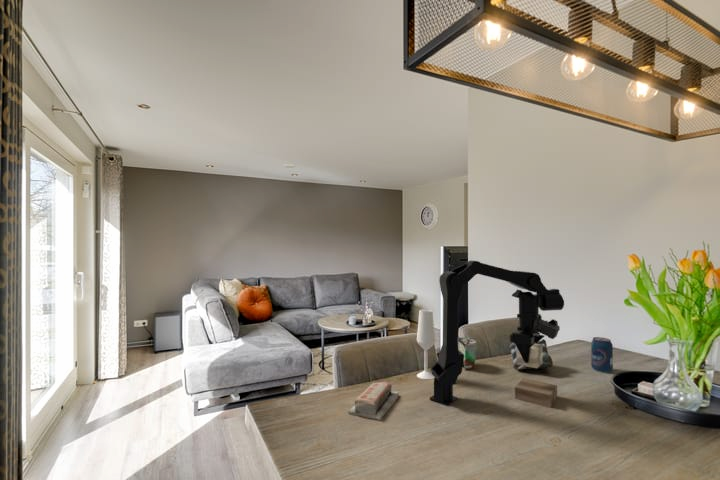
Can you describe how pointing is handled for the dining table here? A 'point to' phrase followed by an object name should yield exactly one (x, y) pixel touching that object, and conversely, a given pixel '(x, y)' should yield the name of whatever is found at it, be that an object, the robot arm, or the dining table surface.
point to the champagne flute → (425, 338)
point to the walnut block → (536, 392)
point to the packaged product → (374, 401)
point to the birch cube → (531, 357)
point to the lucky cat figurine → (545, 357)
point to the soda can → (602, 355)
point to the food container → (468, 352)
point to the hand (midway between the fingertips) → (529, 360)
